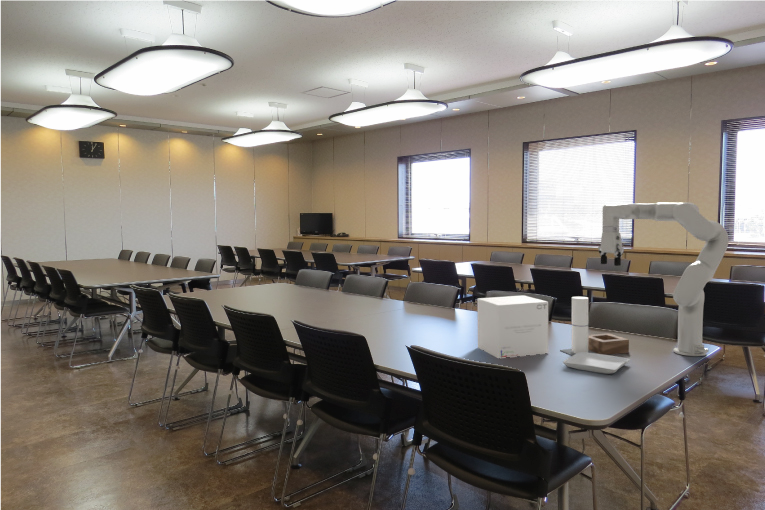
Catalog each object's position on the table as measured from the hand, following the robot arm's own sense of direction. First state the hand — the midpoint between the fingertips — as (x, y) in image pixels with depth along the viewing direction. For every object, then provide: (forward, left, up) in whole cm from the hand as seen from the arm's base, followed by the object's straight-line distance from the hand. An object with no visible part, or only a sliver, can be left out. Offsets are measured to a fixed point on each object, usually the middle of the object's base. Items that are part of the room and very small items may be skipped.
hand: (610, 264), depth 256 cm
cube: (+2, +53, -39) cm, 66 cm away
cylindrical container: (-13, +27, -38) cm, 48 cm away
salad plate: (-34, +34, -39) cm, 62 cm away
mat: (-13, +27, -38) cm, 49 cm away
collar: (-13, +13, -38) cm, 42 cm away
